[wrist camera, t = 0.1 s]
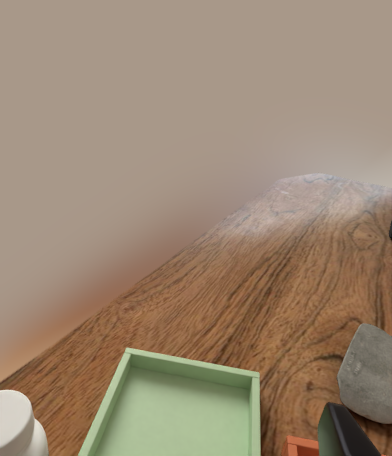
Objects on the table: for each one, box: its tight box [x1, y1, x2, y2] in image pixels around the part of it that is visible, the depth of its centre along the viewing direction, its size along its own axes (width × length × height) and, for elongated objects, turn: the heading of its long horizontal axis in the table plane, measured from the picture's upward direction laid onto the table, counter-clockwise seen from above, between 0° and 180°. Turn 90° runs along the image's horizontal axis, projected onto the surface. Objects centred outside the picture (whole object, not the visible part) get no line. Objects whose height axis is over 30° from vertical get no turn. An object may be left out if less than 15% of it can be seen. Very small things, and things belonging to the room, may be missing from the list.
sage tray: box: [78, 348, 261, 456], centre depth 25 cm, size 11×11×2 cm
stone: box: [337, 324, 392, 424], centre depth 32 cm, size 12×2×5 cm
